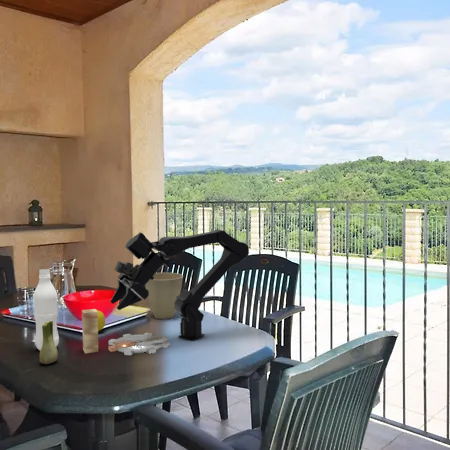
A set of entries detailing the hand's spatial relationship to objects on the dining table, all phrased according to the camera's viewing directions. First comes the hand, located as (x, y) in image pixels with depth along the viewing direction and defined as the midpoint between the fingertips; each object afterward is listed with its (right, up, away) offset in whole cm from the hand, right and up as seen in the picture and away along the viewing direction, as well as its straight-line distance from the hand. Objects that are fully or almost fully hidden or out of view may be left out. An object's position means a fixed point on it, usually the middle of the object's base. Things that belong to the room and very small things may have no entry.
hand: (114, 306), depth 164 cm
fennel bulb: (-16, -15, -13) cm, 25 cm away
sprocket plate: (+7, -13, +3) cm, 15 cm away
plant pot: (+11, -10, +39) cm, 41 cm away
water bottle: (-21, -14, 0) cm, 25 cm away
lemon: (-10, -12, +18) cm, 23 cm away
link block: (-7, -14, -2) cm, 15 cm away
